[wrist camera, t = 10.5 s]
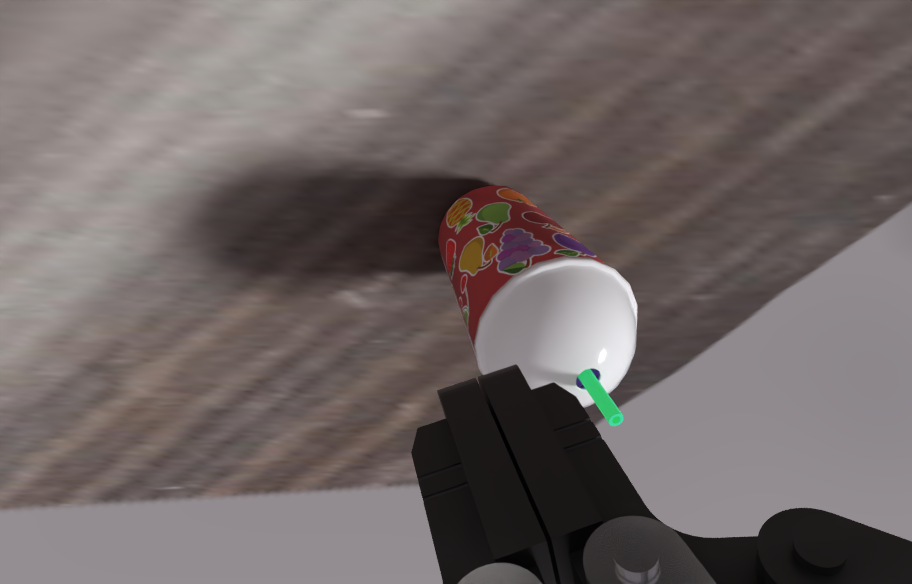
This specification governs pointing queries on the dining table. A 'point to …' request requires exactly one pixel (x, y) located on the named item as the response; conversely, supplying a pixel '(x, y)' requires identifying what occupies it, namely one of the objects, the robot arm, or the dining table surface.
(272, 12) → the dining table surface
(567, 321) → the smoothie
